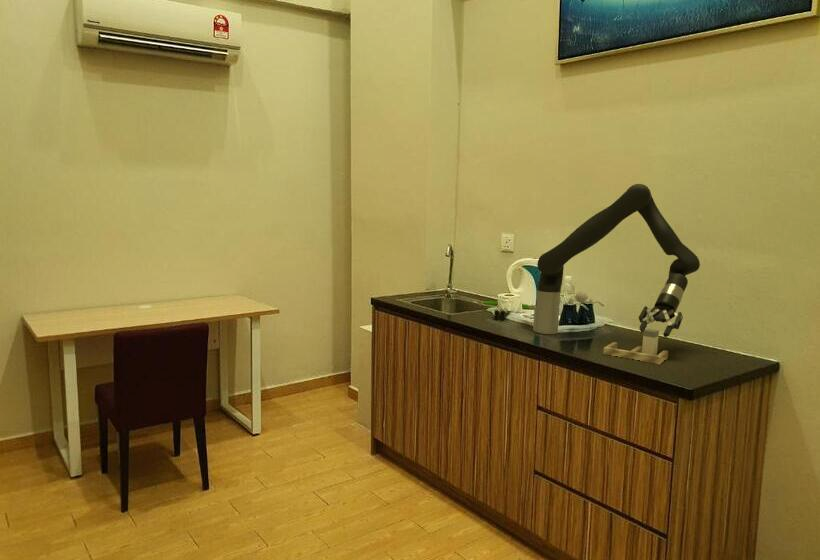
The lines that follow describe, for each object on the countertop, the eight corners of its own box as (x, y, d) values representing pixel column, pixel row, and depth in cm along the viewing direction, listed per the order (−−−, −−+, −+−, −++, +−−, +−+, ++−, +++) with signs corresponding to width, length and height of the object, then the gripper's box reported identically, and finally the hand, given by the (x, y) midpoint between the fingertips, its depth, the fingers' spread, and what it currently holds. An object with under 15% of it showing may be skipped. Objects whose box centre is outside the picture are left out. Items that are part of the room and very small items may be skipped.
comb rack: (603, 354, 231) (603, 347, 230) (612, 348, 240) (613, 342, 240) (659, 364, 220) (660, 357, 219) (667, 357, 229) (668, 351, 229)
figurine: (531, 324, 281) (537, 311, 309) (532, 311, 280) (537, 299, 309) (467, 319, 288) (478, 306, 317) (468, 305, 287) (479, 294, 316)
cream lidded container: (641, 357, 228) (643, 330, 227) (645, 355, 231) (647, 328, 230) (652, 360, 225) (655, 332, 224) (656, 357, 229) (659, 330, 227)
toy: (590, 323, 285) (593, 290, 283) (593, 327, 278) (596, 292, 276) (564, 322, 286) (567, 289, 284) (566, 325, 279) (569, 291, 277)
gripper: (648, 289, 237) (631, 323, 231) (687, 295, 228) (670, 331, 221) (653, 302, 242) (636, 336, 235) (691, 308, 232) (675, 343, 226)
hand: (653, 333), depth 228 cm, fingers open, 8 cm apart
